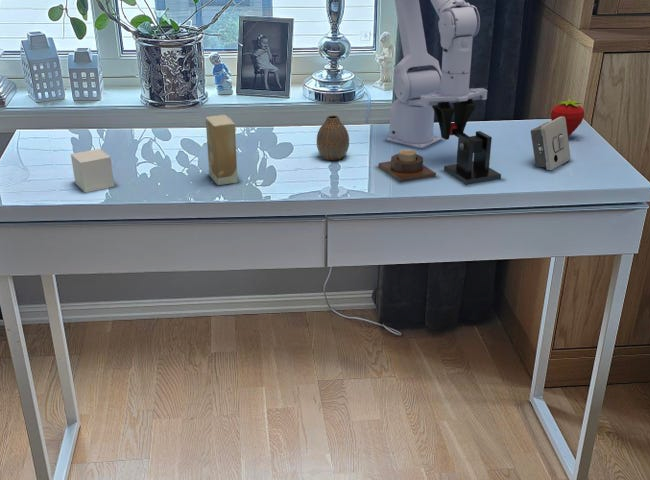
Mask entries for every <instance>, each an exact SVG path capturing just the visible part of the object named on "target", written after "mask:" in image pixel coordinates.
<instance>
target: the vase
mask: <svg viewBox="0 0 650 480" xmlns="http://www.w3.org/2000/svg"><path fill="white" fill-rule="evenodd" d="M349 147H350V136H349V132H348V130H347V128H346V127H345V125H344V123H342V121H341V119H340V117H339V116H338V115H336V114H335V115H334V114H331V115H327V117H326V119H325V121H324V122H323V123H322V124H321V125H320V127H319V129H318V131H317V134H316V148H317V151H318V153H319V155H320V156H321V157H322V158H323V159H324V160H326V161H339V160H341V159H342V158H344V157H345V156H346V155H347V153H348V150H349Z"/></svg>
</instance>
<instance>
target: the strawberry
mask: <svg viewBox="0 0 650 480" xmlns="http://www.w3.org/2000/svg"><path fill="white" fill-rule="evenodd" d="M569 93H570V96H571V99H570V98H568V99H567V100H566V101H558V104H556V105H555V106H554V107H553V108H551V111H550V115H549V116H550V121H553V120H555V119H556V118H558V117H565V119H566V126H567V134H568V138H569V137H570V135H572V134H573V133H574V132H575V131H576V130H577V129H578V128H579V126H580V125H581V124H582V122H583V120H584V117H585V109H584V108H583V106H581V105H582V104H583V102H578V101H575V100H574V98H573V95H572V92H569Z"/></svg>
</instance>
